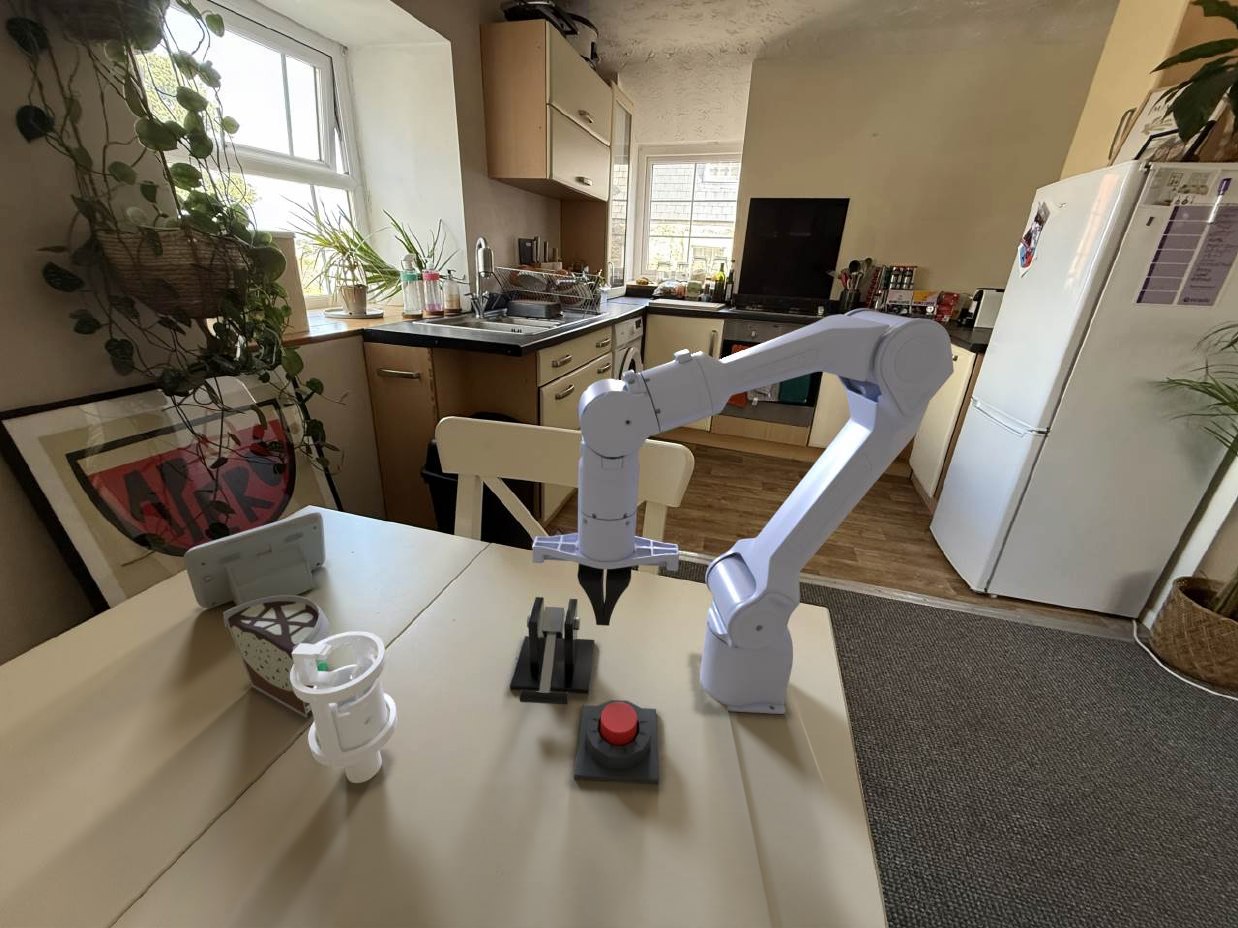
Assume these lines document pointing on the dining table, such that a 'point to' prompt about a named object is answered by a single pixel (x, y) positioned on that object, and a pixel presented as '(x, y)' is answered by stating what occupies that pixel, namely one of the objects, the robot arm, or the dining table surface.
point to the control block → (617, 749)
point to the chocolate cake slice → (276, 642)
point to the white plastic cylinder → (346, 704)
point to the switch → (548, 660)
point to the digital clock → (258, 562)
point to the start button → (618, 723)
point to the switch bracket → (569, 655)
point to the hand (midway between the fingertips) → (603, 619)
